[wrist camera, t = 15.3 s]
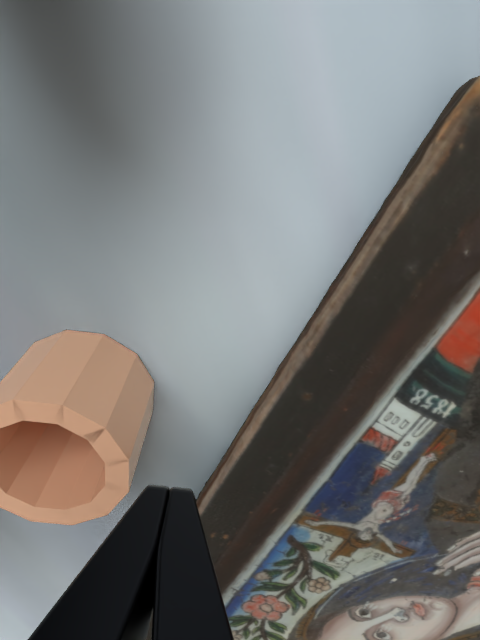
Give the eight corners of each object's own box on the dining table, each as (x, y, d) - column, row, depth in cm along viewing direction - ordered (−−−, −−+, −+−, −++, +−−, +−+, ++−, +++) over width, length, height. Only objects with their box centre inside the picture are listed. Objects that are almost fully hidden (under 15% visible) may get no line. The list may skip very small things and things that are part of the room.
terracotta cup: (13, 323, 21) (-57, 392, 16) (156, 340, 22) (129, 412, 17) (27, 431, 25) (-27, 515, 20) (151, 444, 25) (128, 530, 20)
